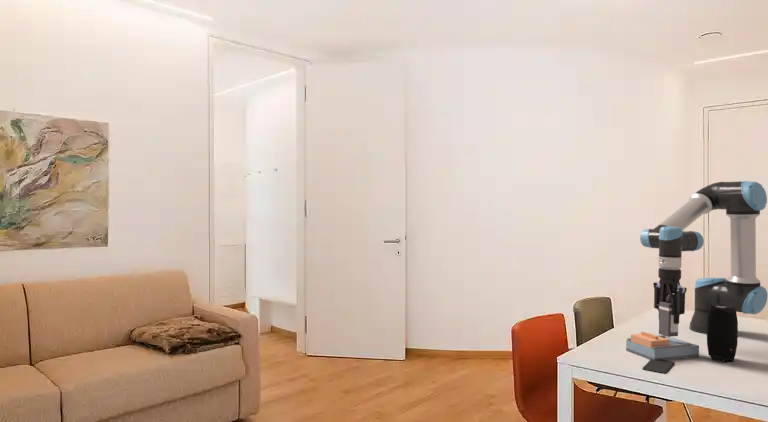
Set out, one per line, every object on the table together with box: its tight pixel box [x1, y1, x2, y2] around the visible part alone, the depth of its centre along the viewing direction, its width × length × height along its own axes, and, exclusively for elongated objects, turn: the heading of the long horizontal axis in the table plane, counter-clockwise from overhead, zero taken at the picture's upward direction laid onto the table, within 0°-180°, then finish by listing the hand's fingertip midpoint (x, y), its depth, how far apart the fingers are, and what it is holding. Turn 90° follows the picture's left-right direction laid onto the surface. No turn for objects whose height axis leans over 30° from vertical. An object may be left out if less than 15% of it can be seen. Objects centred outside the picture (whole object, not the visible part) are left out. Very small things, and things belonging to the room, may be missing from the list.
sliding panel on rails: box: [625, 334, 700, 361], centre depth 202 cm, size 20×14×5 cm
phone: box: [642, 359, 675, 375], centre depth 187 cm, size 7×1×15 cm
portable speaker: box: [706, 304, 739, 363], centre depth 195 cm, size 9×9×20 cm
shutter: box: [630, 331, 669, 348], centre depth 201 cm, size 8×10×4 cm
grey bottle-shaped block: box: [658, 295, 679, 337], centre depth 203 cm, size 5×5×14 cm
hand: (668, 330), depth 203 cm, fingers closed on grey bottle-shaped block, 4 cm apart
